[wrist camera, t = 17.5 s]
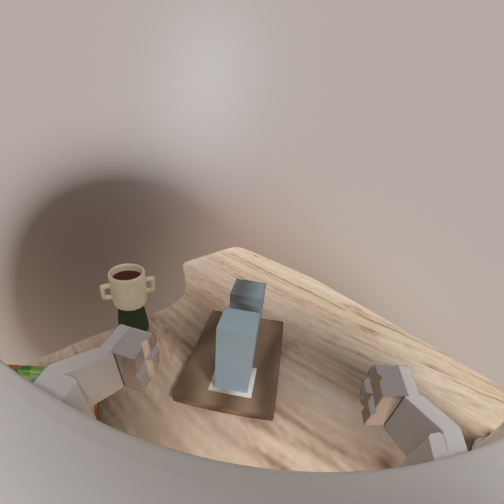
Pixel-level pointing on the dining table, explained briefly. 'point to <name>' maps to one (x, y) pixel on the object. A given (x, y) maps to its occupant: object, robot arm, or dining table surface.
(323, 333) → the dining table surface
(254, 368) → the base board
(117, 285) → the character mug
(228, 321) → the pillar block
